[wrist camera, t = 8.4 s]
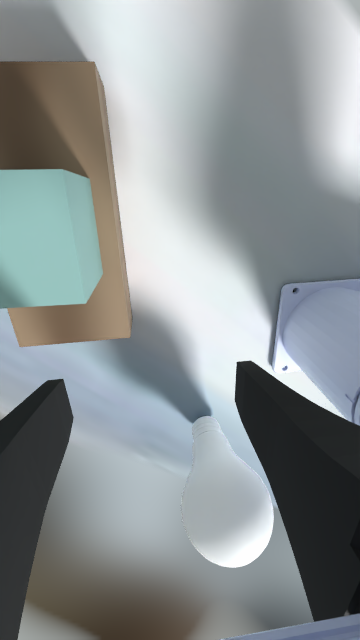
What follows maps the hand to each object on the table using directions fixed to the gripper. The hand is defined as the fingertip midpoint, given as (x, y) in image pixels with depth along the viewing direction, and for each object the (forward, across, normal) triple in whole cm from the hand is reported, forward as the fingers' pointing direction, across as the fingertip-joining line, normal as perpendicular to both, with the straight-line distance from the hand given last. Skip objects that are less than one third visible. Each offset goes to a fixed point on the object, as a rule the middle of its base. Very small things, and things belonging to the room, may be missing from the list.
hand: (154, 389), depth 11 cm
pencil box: (+10, +5, -6) cm, 13 cm away
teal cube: (+7, +5, -6) cm, 10 cm away
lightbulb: (+10, -4, +12) cm, 16 cm away
